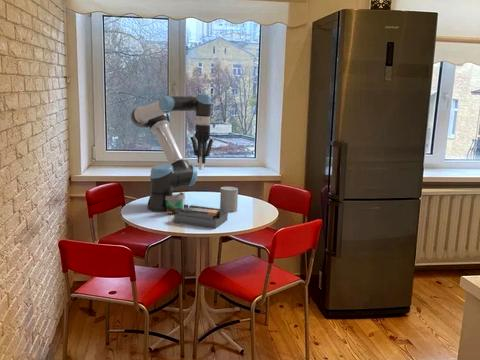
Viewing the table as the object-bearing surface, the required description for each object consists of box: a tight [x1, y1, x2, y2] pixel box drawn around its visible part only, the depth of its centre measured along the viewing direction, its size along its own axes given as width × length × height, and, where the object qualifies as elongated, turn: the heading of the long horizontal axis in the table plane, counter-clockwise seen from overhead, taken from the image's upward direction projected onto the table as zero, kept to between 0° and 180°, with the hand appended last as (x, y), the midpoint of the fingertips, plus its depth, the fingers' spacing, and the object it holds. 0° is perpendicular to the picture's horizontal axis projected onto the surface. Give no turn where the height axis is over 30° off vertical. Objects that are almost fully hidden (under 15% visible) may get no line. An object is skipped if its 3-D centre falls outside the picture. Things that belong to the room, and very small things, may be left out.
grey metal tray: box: [173, 204, 229, 230], centre depth 236 cm, size 22×16×7 cm
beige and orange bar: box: [182, 206, 219, 216], centre depth 236 cm, size 18×5×2 cm, turn 71°
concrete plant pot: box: [219, 186, 239, 214], centre depth 258 cm, size 10×10×12 cm
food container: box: [165, 191, 186, 216], centre depth 248 cm, size 12×6×10 cm, turn 148°
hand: (201, 169), depth 249 cm, fingers closed
